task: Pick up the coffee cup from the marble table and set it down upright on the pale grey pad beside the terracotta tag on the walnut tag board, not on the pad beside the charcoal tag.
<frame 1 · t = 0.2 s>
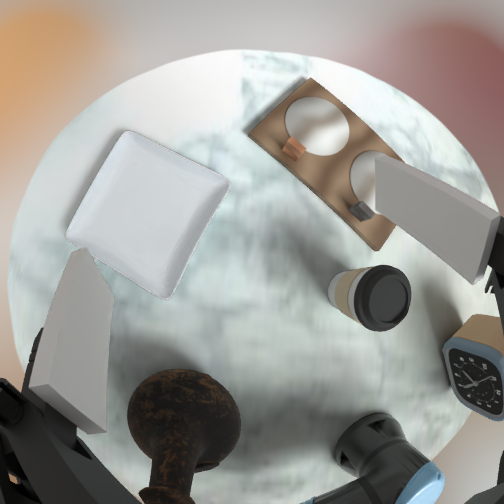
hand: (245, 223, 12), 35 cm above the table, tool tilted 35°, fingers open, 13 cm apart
tag board: (343, 159, 50), on the table
coffee cup: (345, 290, 49), on the table
alarm clock: (456, 357, 52), on the table
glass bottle: (187, 403, 45), on the table
salad plate: (146, 212, 46), on the table
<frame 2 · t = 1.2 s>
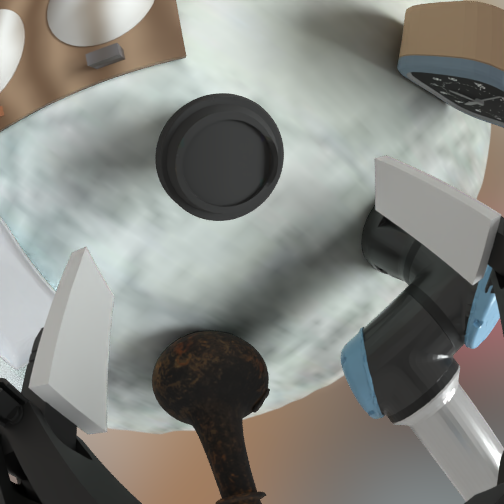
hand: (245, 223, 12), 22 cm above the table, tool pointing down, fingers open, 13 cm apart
tag board: (41, 34, 18), on the table
coffee cup: (200, 134, 30), on the table
alarm clock: (427, 65, 31), on the table
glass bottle: (203, 351, 47), on the table
salad plate: (9, 294, 32), on the table
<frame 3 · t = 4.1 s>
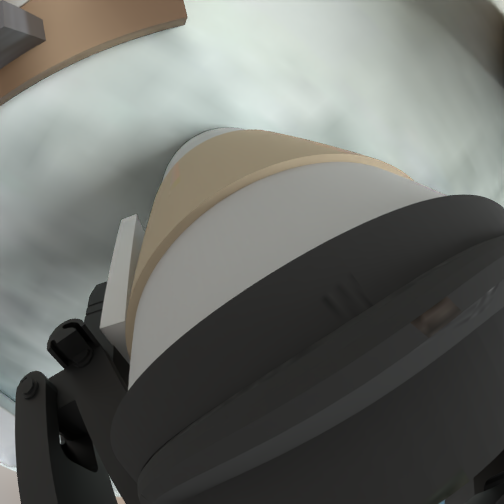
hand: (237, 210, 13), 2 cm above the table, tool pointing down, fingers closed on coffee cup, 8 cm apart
coffee cup: (225, 191, 15), on the table, touching gripper
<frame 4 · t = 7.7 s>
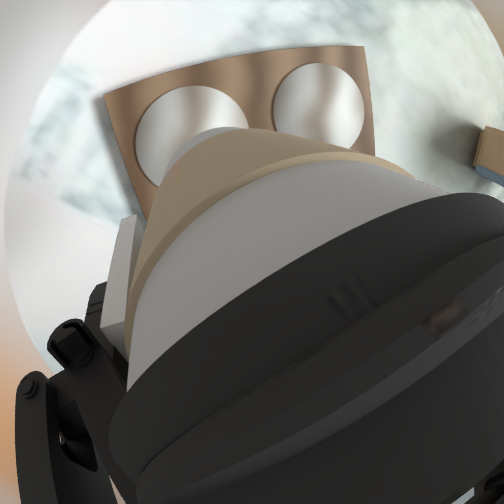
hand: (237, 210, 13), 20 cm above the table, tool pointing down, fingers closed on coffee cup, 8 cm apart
tag board: (258, 130, 31), on the table
coffee cup: (225, 191, 15), point 18 cm above the table, touching gripper
alarm clock: (487, 154, 44), on the table
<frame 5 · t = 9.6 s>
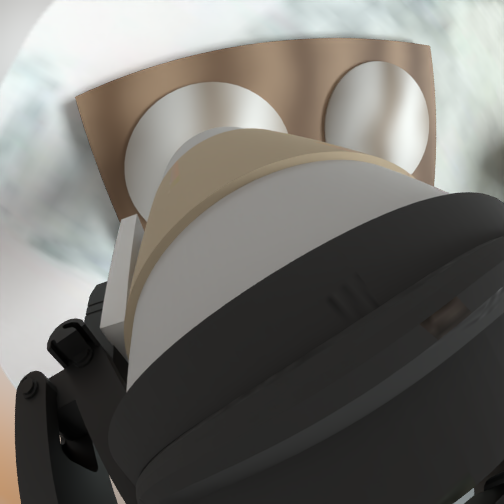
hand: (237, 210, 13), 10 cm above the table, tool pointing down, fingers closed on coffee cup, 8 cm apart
tag board: (301, 149, 23), on the table
coffee cup: (225, 191, 15), point 7 cm above the table, touching gripper
when the fingers open (6 cm above the table, at t = 11.3 s): coffee cup drops 1 cm, resting on tag board.
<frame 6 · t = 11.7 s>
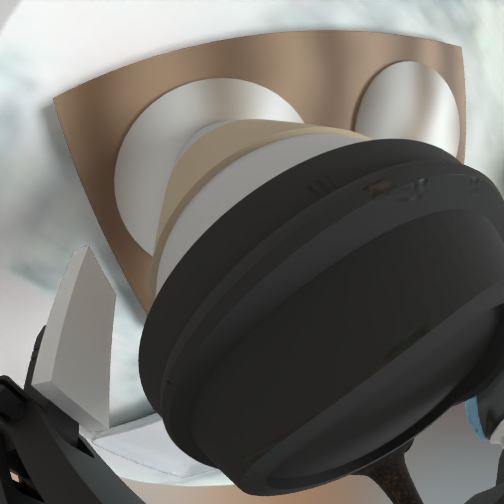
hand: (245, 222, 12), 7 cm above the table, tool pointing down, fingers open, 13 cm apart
tag board: (324, 161, 19), on the table
coffee cup: (230, 179, 16), point 2 cm above the table, touching tag board
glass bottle: (358, 415, 49), on the table
salad plate: (197, 426, 34), on the table
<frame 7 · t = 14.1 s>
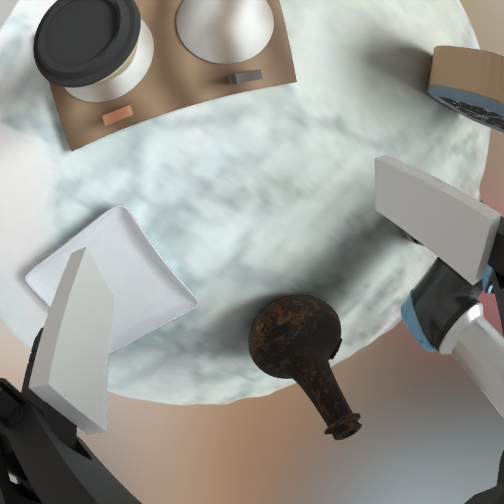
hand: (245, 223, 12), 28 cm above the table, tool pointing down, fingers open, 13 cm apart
tag board: (166, 43, 28), on the table
coffee cup: (108, 52, 25), point 2 cm above the table, touching tag board
alarm clock: (445, 84, 41), on the table
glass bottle: (282, 315, 58), on the table
salad plate: (110, 280, 43), on the table
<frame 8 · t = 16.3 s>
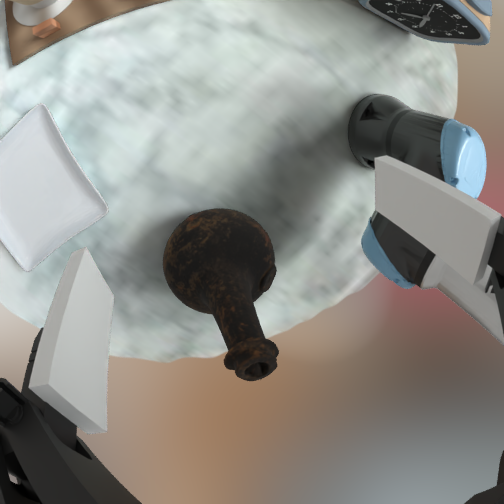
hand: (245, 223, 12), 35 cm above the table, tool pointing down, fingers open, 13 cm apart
alarm clock: (387, 4, 35), on the table
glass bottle: (212, 243, 52), on the table
salad plate: (34, 188, 37), on the table
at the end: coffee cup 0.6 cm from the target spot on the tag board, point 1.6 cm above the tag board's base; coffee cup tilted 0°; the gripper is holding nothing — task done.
